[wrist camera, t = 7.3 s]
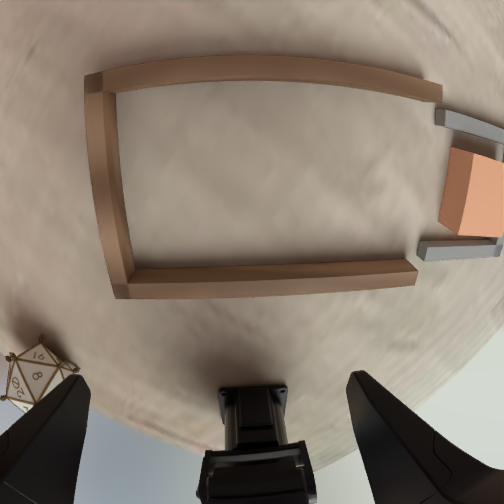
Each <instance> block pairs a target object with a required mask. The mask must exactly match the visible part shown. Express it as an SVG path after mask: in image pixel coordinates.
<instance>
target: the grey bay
mask: <svg viewBox="0 0 504 504" xmlns="http://www.w3.org/2000/svg"><path fill="white" fill-rule="evenodd" d="M435 125H439V126H443V127H447V128H451V129H455V130H458V131H462V132H466V133H469V134H472V135H476V136H479V137H482V138H486V139H489V140H492V141H495V142H498V143H501V144H503V145H504V129H501V128H499V127H496V126H494V125H491V124H488V123H486V122H483V121H480V120H477V119H474V118H471V117H468V116H465V115H462V114H459V113H456V112H452V111H449V110H446V109H436V114H435ZM503 163H504V158H503ZM503 243H504V232H503V235H502V238H501V237H489V239H488V240H440V241H420V242H419V246H418V251H417V256H418V257H419V258H421V259H422V260H423V261H424V262H429V261H444V260H458V259H472V258H485V257H498V256H500V253H501V250H502V246H503Z"/></svg>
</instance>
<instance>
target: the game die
mask: <svg viewBox="0 0 504 504" xmlns="http://www.w3.org/2000/svg"><path fill="white" fill-rule="evenodd" d="M43 339H44V338H43V336H42V334H41V335H40V337H39V343H38V344H36V345H35V346H33V347H31V348H30V349H28V350H26V351H25V352H23V353H21V354H20V355H18V356H16V355H15V354H14V353H10V352H9V353H10V357H11V358H12V359H11V358H10V357H9V356H5V357H6V360H7V361H8V362H10V365H9V371H8V379H7V387H6V395H5V396H4V395H3V396H1V397H0V400H2V401H4V400H6V399H8V400H10V401H11V402H12V403H13V404H14V405H15V406H17V407H18V408H19V409H21V410H22V411H23V412H24V413H26V412H27V411H29V410H30V409H31V408H32V407H33V406H34V405H35V404H36V403H38V402H39V401H40V400H41V399H42V398H43V397H44V396H46V395H47V394H48V393H49V392H50V391H51V390H52V389H54V388H55V387H56V386H57V385H58V384H59V383H60V382H62V381H63V380H64V379H65V378H66V377H67V376H69V375H70V374H74V373H77V372H79V370H80V368H77V367H76V368H74V369H73V370H72V369H71V368H70V367H69V366H67V365H66V364H65V363H64V362H63V361H62V360H60V359H59V358H58V357H57V356H56V355H55V354H54V353H52V352H51V351H50V350H49V349H48V348H47V347H46V346H45V345H44V344H43V343H42V342H43V341H44V340H43Z"/></svg>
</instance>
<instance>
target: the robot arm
mask: <svg viewBox="0 0 504 504" xmlns="http://www.w3.org/2000/svg"><path fill="white" fill-rule="evenodd" d="M287 393H288V389H287V386H285V385H277V386H263V387H243V388H221V389H219V391H218V396H219V402H220V409H221V415H222V421H223V424H224V425H225V450H222V451H212V450H206V451H205V457H204V458H203V462H202V468H201V474H200V480H199V485H198V488H197V490H196V496H197V497H198V498H199V499H200V500H201V503H202V504H313V503H317V493H316V485H315V479H314V474H313V470H312V466H311V463H310V459H309V455H308V451H307V448H306V444H305V440H303V441H298V442H296V443H290V444H288V440H287V434H286V428H285V422H284V415H285V408H286V400H287ZM346 394H347V399H348V404H349V409H350V415H351V420H352V425H353V430H354V434H355V437H356V441H357V444H358V447H359V450H360V453H361V456H362V460H363V463H364V467H365V470H366V473H367V476H368V480H369V483H370V487H371V490H372V493H373V497H374V501H375V504H504V470H499V469H495V468H492V467H489V466H487V465H485V464H484V463H481V462H480V461H479V460H477V459H475V458H474V457H472V456H471V455H469V454H467V453H466V452H464V451H462V450H461V449H460V448H458V447H456V446H455V445H454V444H452V443H451V442H450V441H448V440H447V439H446V438H444V437H443V436H442V435H441V434H439V433H438V432H437V431H434V429H433V428H432V427H431V426H430V425H429V424H427V423H426V422H425V421H424V420H422V419H421V418H420V417H419V416H418V415H417V414H415V413H414V412H413V411H412V410H411V409H409V408H408V407H407V406H406V405H405V404H403V403H402V402H401V401H400V400H399V399H397V398H396V397H395V396H394V395H393V394H392V393H390V392H389V391H388V390H387V389H386V388H384V387H383V386H382V385H381V384H380V383H379V382H377V381H376V380H375V379H374V378H373V377H371V376H370V375H369V374H368V373H367V372H366V371H364V370H359V371H354V372H352V373H351V375H350V378H349V381H348V384H347V387H346ZM90 397H91V392H90V389H89V387H88V385H87V384H86V382H85V380H84V378H83V377H82V376H81V375H78V374H70V375H69V376H67V377H66V378H65V379H64V380H63V381H62V382H60V383H59V384H58V385H57V386H56V387H55V388H54V389H52V390H51V391H50V392H49V393H48V394H47V395H46V396H44V397H43V398H42V399H41V400H40V401H39V402H38V403H36V404H35V405H34V406H33V407H32V408H31V409H30V410H29V411H27V412H26V413H25V414H24V415H23V416H22V417H21V418H20V419H18V420H17V421H16V422H15V423H14V424H13V425H12V426H11V427H10V428H9V429H8V430H6V431H5V432H4V433H3V434H2V435H1V436H0V504H73V503H74V495H75V489H76V482H77V476H78V470H79V464H80V459H81V454H82V449H83V444H84V439H85V434H86V428H87V420H88V412H89V404H90ZM298 465H299V467H296V466H298Z"/></svg>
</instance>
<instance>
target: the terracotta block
mask: <svg viewBox="0 0 504 504" xmlns="http://www.w3.org/2000/svg"><path fill="white" fill-rule="evenodd" d="M438 222H439V223H441V224H442V225H444V226H445V227H447V228H448V229H450V230H451V231H453V232H454V233H456V234H457V235H468V236H485V237H501V238H502V235H503V232H504V163H502V162H499V161H496V160H493V159H490V158H487V157H484V156H481V155H478V154H475V153H472V152H468V151H465V150H461V149H457V148H454V147H451V148H450V156H449V164H448V171H447V177H446V183H445V189H444V194H443V200H442V205H441V210H440V214H439V219H438Z"/></svg>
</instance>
